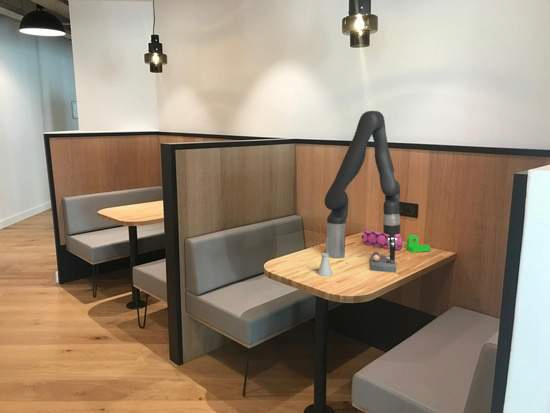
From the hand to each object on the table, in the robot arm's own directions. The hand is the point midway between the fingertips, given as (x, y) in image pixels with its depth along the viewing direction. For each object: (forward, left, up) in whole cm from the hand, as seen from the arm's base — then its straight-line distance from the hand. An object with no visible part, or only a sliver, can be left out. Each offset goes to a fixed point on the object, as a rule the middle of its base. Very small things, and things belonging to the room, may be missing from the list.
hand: (392, 259), depth 204 cm
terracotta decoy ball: (-7, +1, 0) cm, 7 cm away
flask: (-30, -17, -4) cm, 35 cm away
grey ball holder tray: (-4, +3, -4) cm, 6 cm away
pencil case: (-3, +37, -5) cm, 37 cm away
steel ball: (-2, +2, 0) cm, 3 cm away
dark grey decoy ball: (-7, +6, 0) cm, 9 cm away
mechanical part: (+17, +36, -5) cm, 40 cm away
